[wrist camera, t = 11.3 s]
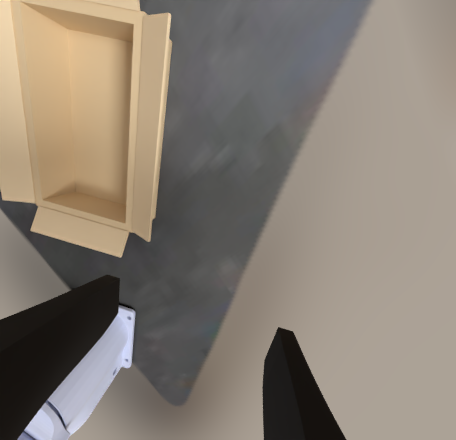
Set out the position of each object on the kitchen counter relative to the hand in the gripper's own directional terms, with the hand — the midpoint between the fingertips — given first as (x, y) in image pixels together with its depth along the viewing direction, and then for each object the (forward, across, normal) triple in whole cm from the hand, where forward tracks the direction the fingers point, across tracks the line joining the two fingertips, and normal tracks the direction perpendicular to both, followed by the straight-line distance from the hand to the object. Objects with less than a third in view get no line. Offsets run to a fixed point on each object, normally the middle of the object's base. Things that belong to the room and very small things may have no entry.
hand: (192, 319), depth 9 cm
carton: (+10, +11, -6) cm, 16 cm away
